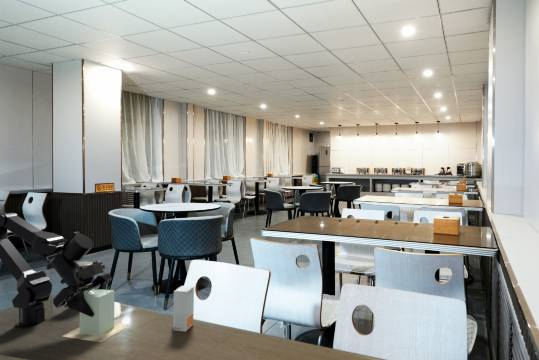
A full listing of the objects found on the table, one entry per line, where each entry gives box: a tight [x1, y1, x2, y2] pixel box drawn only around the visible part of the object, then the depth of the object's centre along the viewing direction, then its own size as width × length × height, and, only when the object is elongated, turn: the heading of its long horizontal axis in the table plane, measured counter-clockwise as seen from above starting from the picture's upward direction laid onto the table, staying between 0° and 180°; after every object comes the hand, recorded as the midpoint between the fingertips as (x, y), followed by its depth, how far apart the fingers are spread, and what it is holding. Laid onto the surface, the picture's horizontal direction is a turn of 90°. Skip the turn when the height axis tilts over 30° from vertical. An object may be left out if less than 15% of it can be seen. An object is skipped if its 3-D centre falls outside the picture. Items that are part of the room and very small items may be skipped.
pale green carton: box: [79, 289, 115, 336], centre depth 118 cm, size 7×7×11 cm
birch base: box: [61, 322, 130, 343], centre depth 118 cm, size 13×13×6 cm
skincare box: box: [172, 285, 195, 332], centre depth 123 cm, size 6×4×12 cm
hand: (101, 311), depth 117 cm, fingers closed on pale green carton, 7 cm apart
